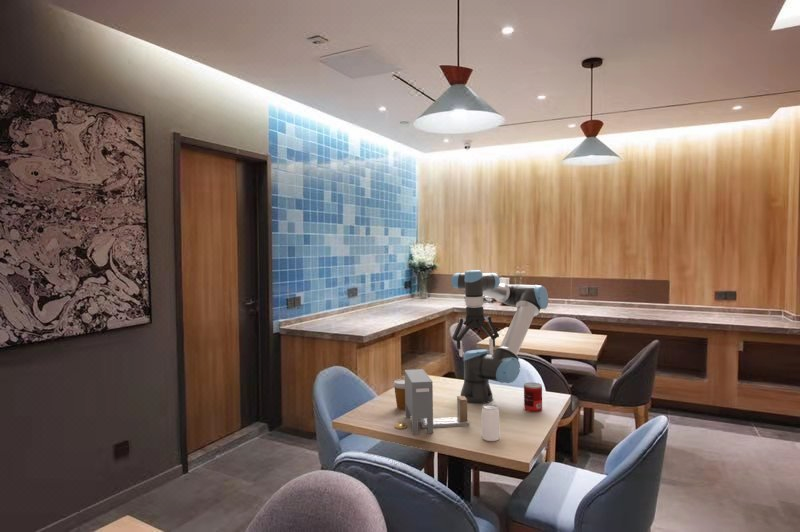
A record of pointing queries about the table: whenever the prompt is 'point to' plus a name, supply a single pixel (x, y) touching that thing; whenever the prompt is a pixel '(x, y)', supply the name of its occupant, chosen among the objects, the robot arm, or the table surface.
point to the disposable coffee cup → (400, 393)
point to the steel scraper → (452, 421)
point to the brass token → (400, 425)
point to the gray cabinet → (419, 398)
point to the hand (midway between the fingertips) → (476, 355)
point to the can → (490, 422)
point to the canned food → (533, 397)
